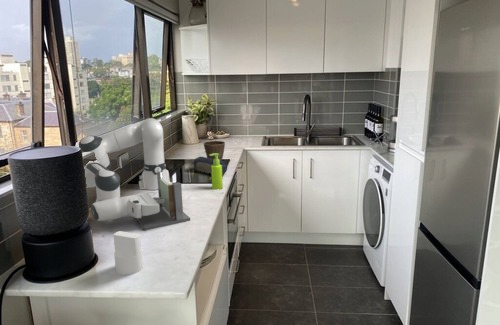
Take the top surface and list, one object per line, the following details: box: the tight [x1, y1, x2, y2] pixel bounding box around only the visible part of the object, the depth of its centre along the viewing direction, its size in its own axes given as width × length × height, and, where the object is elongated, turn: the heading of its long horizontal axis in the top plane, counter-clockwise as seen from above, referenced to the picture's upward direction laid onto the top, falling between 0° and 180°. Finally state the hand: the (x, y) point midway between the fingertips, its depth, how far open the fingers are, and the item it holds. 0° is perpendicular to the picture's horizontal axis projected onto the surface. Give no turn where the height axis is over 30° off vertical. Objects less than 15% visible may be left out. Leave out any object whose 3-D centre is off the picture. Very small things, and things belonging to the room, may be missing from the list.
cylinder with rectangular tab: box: [112, 230, 145, 276], centre depth 119 cm, size 9×9×12 cm
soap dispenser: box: [209, 153, 224, 190], centre depth 203 cm, size 6×7×20 cm
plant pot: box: [203, 140, 226, 161], centre depth 257 cm, size 15×15×16 cm
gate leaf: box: [160, 178, 174, 217], centre depth 164 cm, size 16×2×14 cm, turn 29°
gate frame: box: [135, 171, 191, 231], centre depth 163 cm, size 25×20×18 cm
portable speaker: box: [193, 156, 228, 176], centre depth 236 cm, size 25×10×10 cm, turn 50°
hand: (163, 199), depth 164 cm, fingers closed
